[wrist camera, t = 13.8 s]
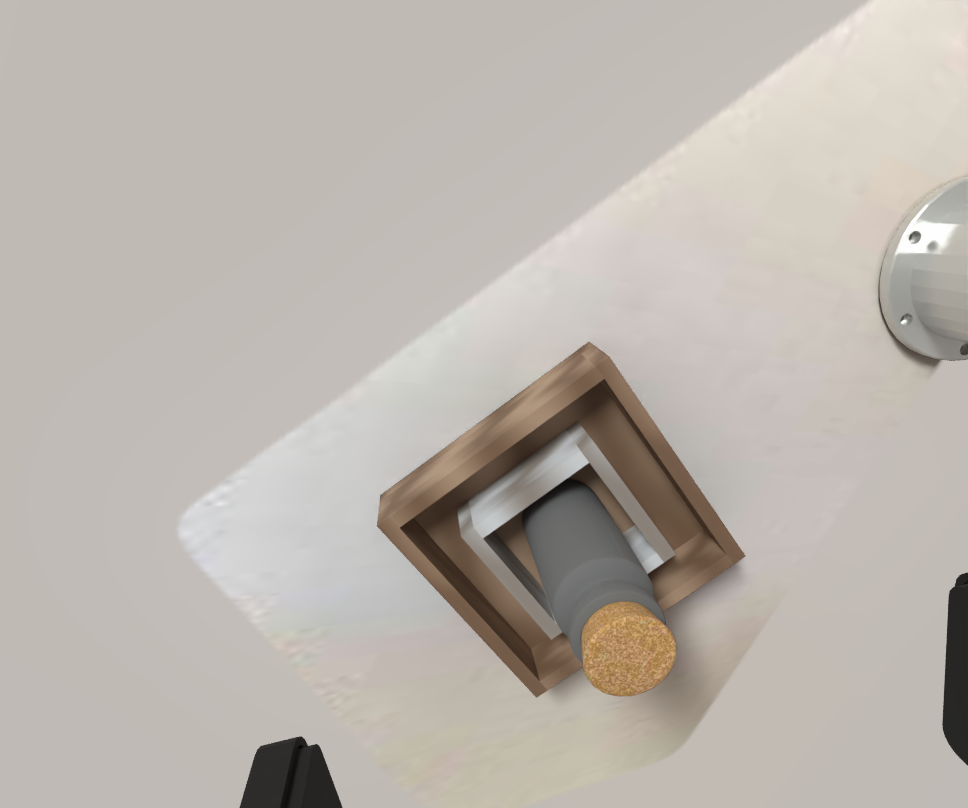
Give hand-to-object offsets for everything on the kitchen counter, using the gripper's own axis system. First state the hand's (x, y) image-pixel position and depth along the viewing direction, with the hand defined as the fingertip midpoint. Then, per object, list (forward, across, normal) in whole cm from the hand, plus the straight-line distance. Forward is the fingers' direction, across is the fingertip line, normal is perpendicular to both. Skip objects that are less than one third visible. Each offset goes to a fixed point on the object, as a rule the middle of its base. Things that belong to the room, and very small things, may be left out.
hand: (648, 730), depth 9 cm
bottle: (+32, -4, +15) cm, 36 cm away
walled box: (+33, -4, +15) cm, 37 cm away
